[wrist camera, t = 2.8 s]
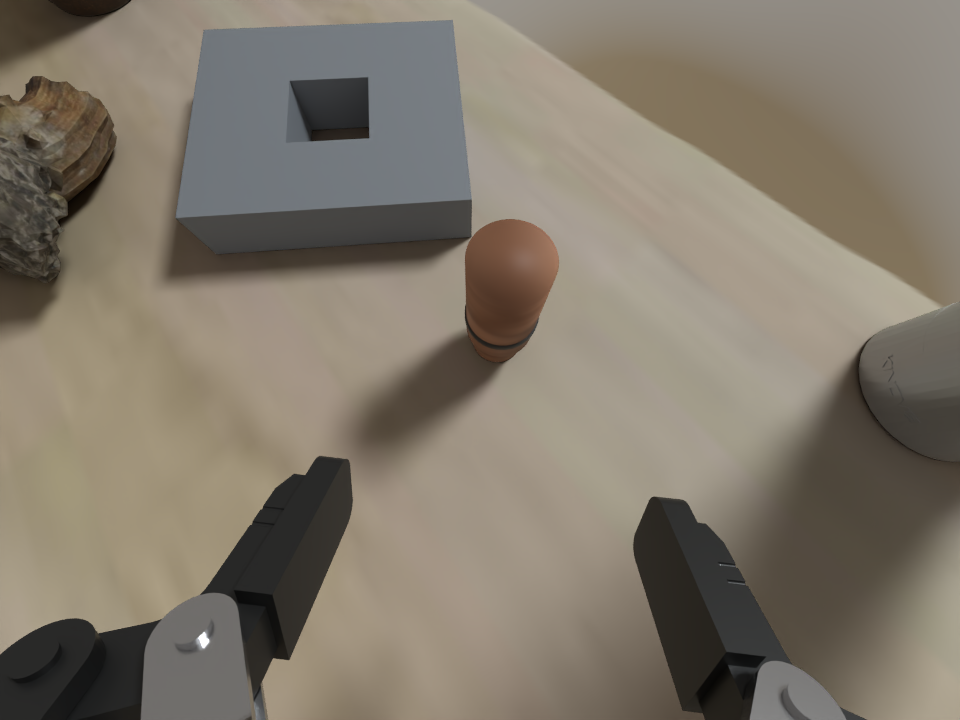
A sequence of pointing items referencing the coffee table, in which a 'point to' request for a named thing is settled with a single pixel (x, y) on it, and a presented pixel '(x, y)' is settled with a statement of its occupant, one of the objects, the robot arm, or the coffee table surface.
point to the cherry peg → (507, 285)
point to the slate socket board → (334, 163)
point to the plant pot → (89, 6)
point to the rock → (46, 169)
